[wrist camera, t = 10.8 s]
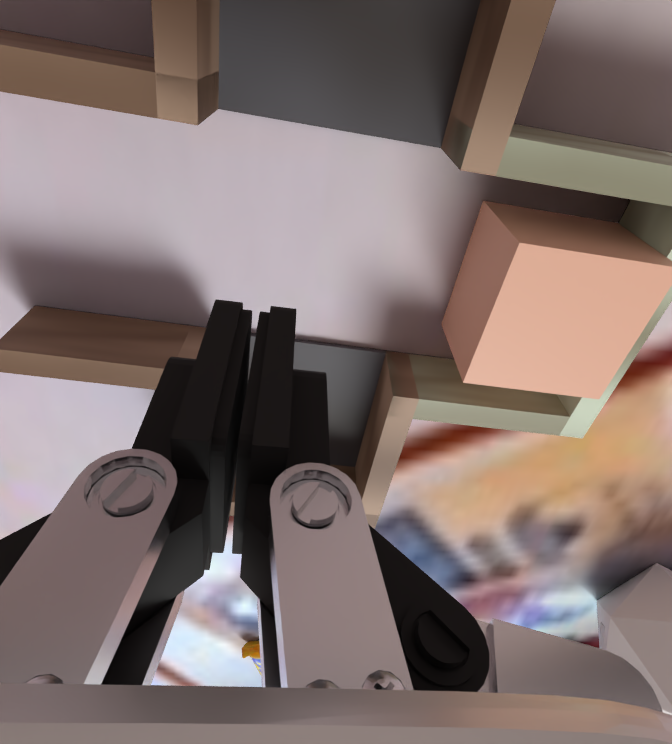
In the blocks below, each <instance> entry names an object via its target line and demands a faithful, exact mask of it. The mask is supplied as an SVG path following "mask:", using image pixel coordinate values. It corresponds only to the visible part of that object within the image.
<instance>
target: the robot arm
mask: <svg viewBox="0 0 672 744" xmlns="http://www.w3.org/2000/svg"><path fill="white" fill-rule="evenodd" d="M251 324H252V311H251V310H243V303H241V302H233V301H224V300H215V303H214V306H213V309H212V312H211V315H210V318H209V321H208V324H207V327H206V330H205V333H204V336H203V339H202V342H201V345H200V348H199V352H198V355H197V358H196V359H190V358H181V357H170V358H169V359H168V361H167V363H166V365H165V368H164V370H163V373H162V375H161V378H160V380H159V383H158V385H157V388H156V390H155V392H154V395H153V397H152V400H151V402H150V405H149V407H148V410H147V412H146V415H145V417H144V420H143V422H142V425H141V427H140V429H139V432H138V434H137V437H136V439H135V442H134V444H133V447H132V449H127V450H120V451H115V452H113V453H110V454H107V455H104V456H102V457H100V458H99V459H97V460H95V461H94V462H92V463H91V464H89V465H88V466H87V467H86V468H85V469H84V470H83V471H82V472H81V473H80V474H79V476H78V477H77V478H76V480H75V481H74V483H73V484H72V485H71V487H70V488H69V490H68V491H67V492H66V494H65V495H64V497H63V498H62V500H61V501H60V502H59V504H58V505H57V507H56V508H55V509H54V511H53V512H52V513H51V514H49V515H47V516H45V517H43V518H41V519H39V520H37V521H35V522H33V523H31V524H30V525H28V526H26V527H24V528H22V529H20V530H18V531H16V532H14V533H12V534H10V535H9V536H7V537H5V538H3V539H1V540H0V744H672V715H669V714H666V713H663V711H662V708H661V705H660V703H659V701H658V699H657V697H656V694H655V692H654V690H653V688H652V687H651V686H650V684H649V683H648V682H647V680H646V679H645V678H644V677H643V675H642V674H641V673H640V671H638V670H637V669H636V668H635V667H634V666H632V665H631V664H630V663H629V662H627V661H626V660H625V659H624V658H622V657H620V656H618V655H615V654H613V653H611V652H609V651H606V650H603V649H599V648H596V647H592V646H589V645H585V644H582V643H578V642H575V641H571V640H568V639H564V638H561V637H557V636H554V635H550V634H546V633H543V632H539V631H536V630H532V629H529V628H525V627H522V626H518V625H515V624H511V623H508V622H504V621H501V620H497V619H494V618H493V619H492V620H491V622H490V623H486V622H482V621H479V620H476V619H475V618H474V617H473V616H472V615H471V614H470V613H469V612H468V611H467V609H466V608H465V607H464V606H462V605H461V604H460V603H459V602H458V601H457V600H456V599H454V598H453V597H452V596H451V595H450V594H449V593H447V592H446V591H445V590H444V589H443V588H442V587H441V586H439V585H438V584H437V583H436V582H435V581H434V580H432V579H431V578H430V577H429V576H428V575H427V574H426V573H424V572H423V571H422V570H421V569H420V568H419V567H417V566H416V565H415V564H414V563H413V562H412V561H410V560H409V559H408V558H407V557H406V556H405V555H404V554H402V553H401V552H400V551H399V550H398V549H397V548H395V547H394V546H393V545H392V544H391V543H390V542H389V541H387V540H386V539H385V538H384V537H383V536H382V535H380V534H379V533H378V532H377V531H376V530H375V529H373V528H372V527H371V526H370V525H369V524H368V521H367V518H366V514H365V510H364V507H363V503H362V500H361V496H360V494H359V491H358V489H357V487H356V485H355V483H354V482H353V481H352V480H351V479H350V478H349V477H348V476H347V475H346V474H345V473H343V472H341V471H340V470H338V469H337V468H335V467H332V466H330V449H329V423H328V397H327V376H326V372H317V371H307V370H297V369H293V363H294V344H295V325H296V309H291V308H283V307H275V306H271V309H270V313H268V312H260V314H259V320H258V326H257V332H256V338H255V344H254V350H253V356H252V362H251V367H250V373H249V379H248V372H249V356H250V340H251ZM235 478H236V486H235V506H234V526H233V546H232V553H233V554H242V560H241V574H240V578H241V579H242V580H243V581H244V582H245V583H246V584H247V586H248V587H249V588H250V589H251V590H252V591H253V592H254V593H255V595H256V596H257V597H258V602H257V610H258V627H259V643H260V660H261V677H262V687H218V686H160V685H151V683H152V680H153V677H154V675H155V672H156V669H157V667H158V664H159V661H160V659H161V656H162V654H163V651H164V648H165V646H166V643H167V640H168V638H169V635H170V632H171V630H172V627H173V624H174V622H175V619H176V616H177V614H178V611H179V608H180V606H181V603H182V599H183V594H184V590H185V589H186V588H188V587H189V586H190V585H192V584H193V583H194V582H196V581H197V580H198V579H200V578H201V577H202V576H203V574H204V570H209V569H210V563H211V558H212V552H214V553H223V551H224V546H225V540H226V534H227V527H228V521H229V515H230V509H231V503H232V497H233V490H234V484H235Z"/></svg>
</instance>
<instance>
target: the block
mask: <svg viewBox="0 0 672 744" xmlns="http://www.w3.org/2000/svg"><path fill="white" fill-rule="evenodd" d="M671 286H672V261H671V260H670V259H668V258H667V257H666V256H664V255H663V254H661V253H660V252H658V251H657V250H656V249H654V248H653V247H651V246H650V245H648V244H647V243H646V242H644V241H643V240H641V239H640V238H638V237H637V236H636V235H634V234H633V233H631V232H630V231H628V230H627V229H626V228H624V227H623V226H621V225H620V224H618V223H615V222H609V221H603V220H597V219H591V218H585V217H579V216H573V215H567V214H561V213H555V212H549V211H543V210H537V209H531V208H525V207H519V206H513V205H507V204H501V203H495V202H489V201H483V203H482V206H481V208H480V211H479V214H478V217H477V220H476V223H475V226H474V229H473V232H472V235H471V238H470V241H469V244H468V247H467V250H466V253H465V256H464V259H463V262H462V265H461V268H460V270H459V273H458V276H457V279H456V282H455V285H454V288H453V291H452V294H451V297H450V300H449V303H448V306H447V309H446V312H445V315H444V318H443V321H442V324H441V325H442V328H443V330H444V333H445V336H446V338H447V341H448V344H449V347H450V349H451V352H452V355H453V357H454V360H455V363H456V365H457V368H458V371H459V373H460V376H461V379H462V381H463V383H470V384H478V385H486V386H494V387H502V388H510V389H518V390H526V391H535V392H543V393H551V394H559V395H567V396H575V397H583V398H591V399H600V397H601V396H602V394H603V393H604V391H605V390H606V388H607V386H608V385H609V383H610V382H611V380H612V379H613V377H614V375H615V374H616V372H617V371H618V369H619V368H620V366H621V364H622V363H623V361H624V360H625V358H626V357H627V355H628V353H629V352H630V350H631V349H632V347H633V345H634V344H635V342H636V341H637V339H638V338H639V336H640V334H641V333H642V331H643V330H644V328H645V327H646V325H647V323H648V322H649V320H650V319H651V317H652V316H653V314H654V312H655V311H656V309H657V308H658V306H659V305H660V303H661V301H662V300H663V298H664V297H665V295H666V294H667V292H668V290H669V289H670V287H671Z"/></svg>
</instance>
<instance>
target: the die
mask: <svg viewBox="0 0 672 744" xmlns="http://www.w3.org/2000/svg"><path fill="white" fill-rule="evenodd" d="M597 614H598V630H599V646H600V649H603V650H606V651H609V652H611V653H613V654H615V655H618V656H620V657H622V658H624V659H625V660H626V661H627V662H629V663H630V664H631V665H632V666H634V667H635V668H636V669H637V670H638V671H640V673H641V674H642V675H643V677H644V678H645V679H646V680H647V682H648V683H649V684H650V686H651V687H652V688H653V690H654V692H655V694H656V697H657V699H658V701H659V703H660V705H661V708H662V711H663V713H666V714H669V715H672V570H670V569H668V568H666V567H664V566H662V565H660V564H658V563H656V564H654V565H652V566H651V567H649V568H648V569H646V570H644V571H643V572H641V573H640V574H638V575H637V576H635V577H633V578H632V579H630V580H629V581H627V582H625V583H624V584H622V585H621V586H619V587H618V588H616V589H614V590H613V591H611V592H610V593H608V594H606V595H605V596H603V597H602V598H600V599H598V600H597Z"/></svg>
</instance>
